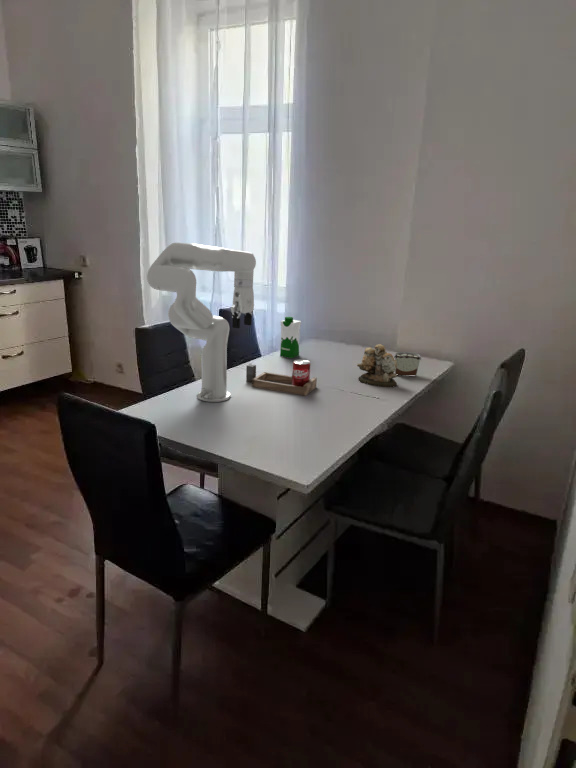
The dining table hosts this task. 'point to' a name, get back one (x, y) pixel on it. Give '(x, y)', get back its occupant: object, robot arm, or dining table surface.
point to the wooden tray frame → (261, 382)
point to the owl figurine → (378, 367)
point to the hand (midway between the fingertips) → (242, 326)
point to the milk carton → (290, 337)
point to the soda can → (300, 372)
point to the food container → (407, 363)
